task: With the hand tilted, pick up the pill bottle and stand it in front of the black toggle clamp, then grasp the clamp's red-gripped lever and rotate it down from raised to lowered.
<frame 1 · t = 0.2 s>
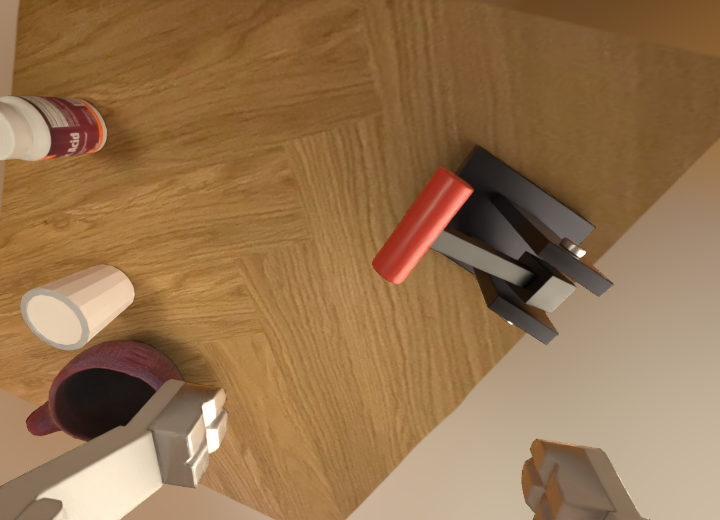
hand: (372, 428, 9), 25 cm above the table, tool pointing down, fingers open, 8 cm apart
shot glass: (112, 286, 40), on the table
bowl: (145, 373, 45), on the table
clamp lever: (490, 260, 19), point 13 cm above the table, hinge at 28.0°
clamp: (497, 227, 32), on the table
pill bottle: (86, 125, 33), on the table
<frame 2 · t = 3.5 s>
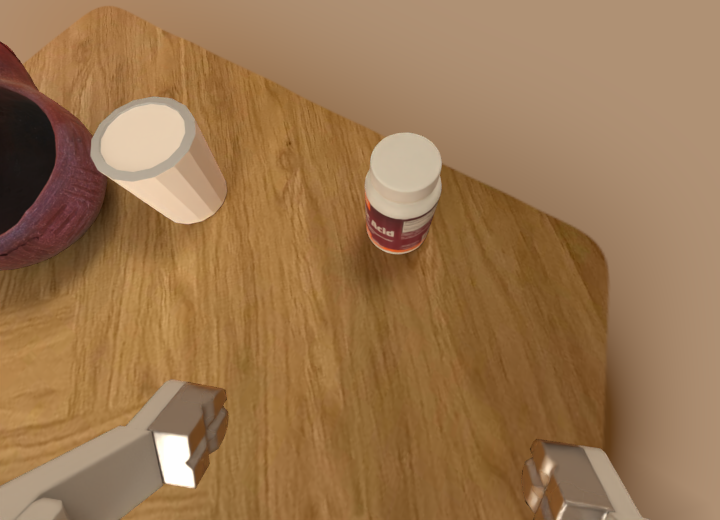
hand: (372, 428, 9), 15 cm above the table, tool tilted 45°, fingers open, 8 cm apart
shot glass: (194, 195, 30), on the table
bowl: (51, 200, 30), on the table
pill bottle: (396, 229, 28), on the table
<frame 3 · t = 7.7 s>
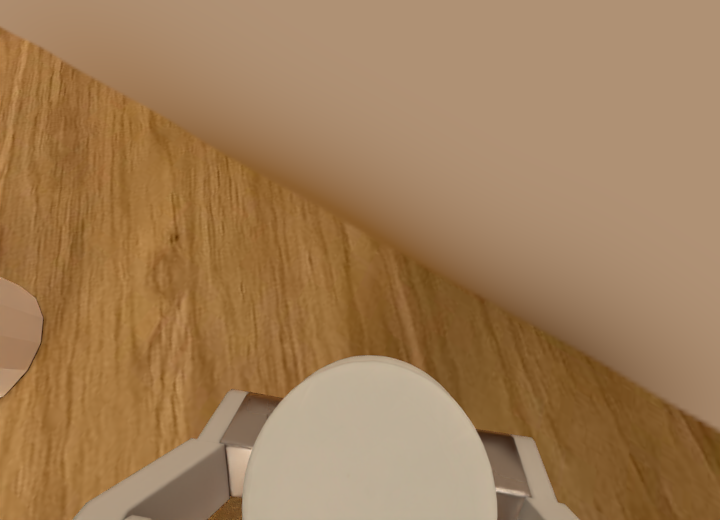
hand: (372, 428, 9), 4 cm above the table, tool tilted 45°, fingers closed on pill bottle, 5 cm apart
pill bottle: (370, 439, 13), on the table, touching gripper
when the fingers open (4 cm above the table, at t = 16.5 s): pill bottle stays where it is, on the table.
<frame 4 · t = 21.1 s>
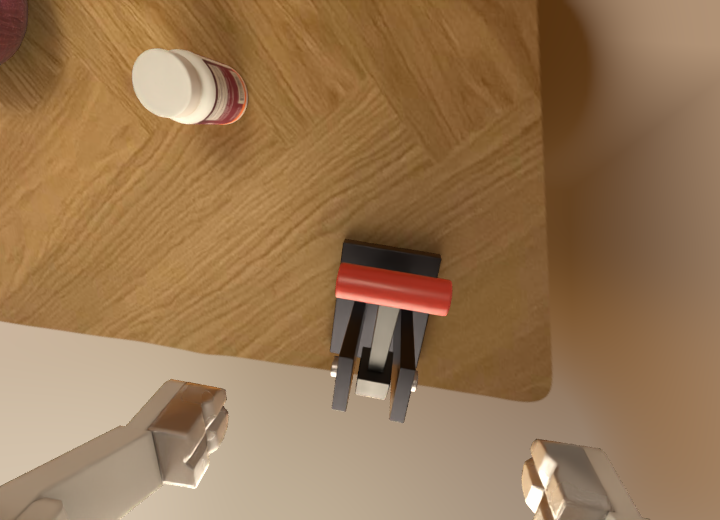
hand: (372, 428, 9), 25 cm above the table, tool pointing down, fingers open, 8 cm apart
clamp lever: (381, 340, 22), point 13 cm above the table, hinge at 28.0°
clamp: (382, 303, 36), on the table
pill bottle: (223, 95, 31), on the table
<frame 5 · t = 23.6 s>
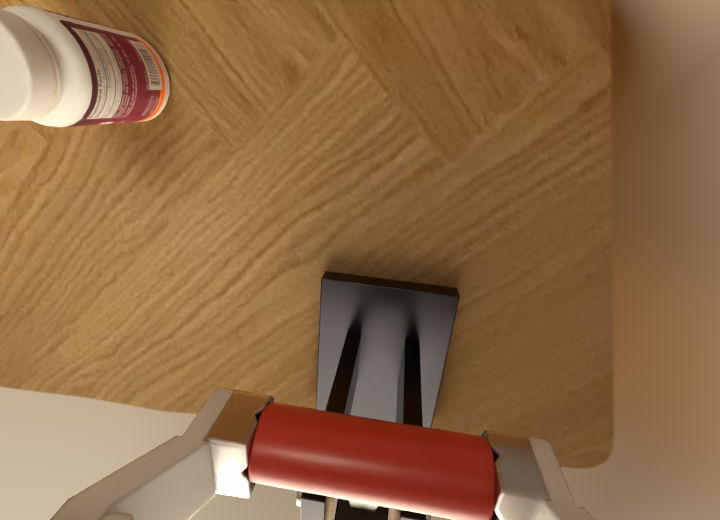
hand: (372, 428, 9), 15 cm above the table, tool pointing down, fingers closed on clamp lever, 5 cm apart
clamp lever: (365, 486, 13), point 13 cm above the table, hinge at 28.0°, touching gripper
clamp: (381, 351, 27), on the table
pill bottle: (137, 79, 21), on the table
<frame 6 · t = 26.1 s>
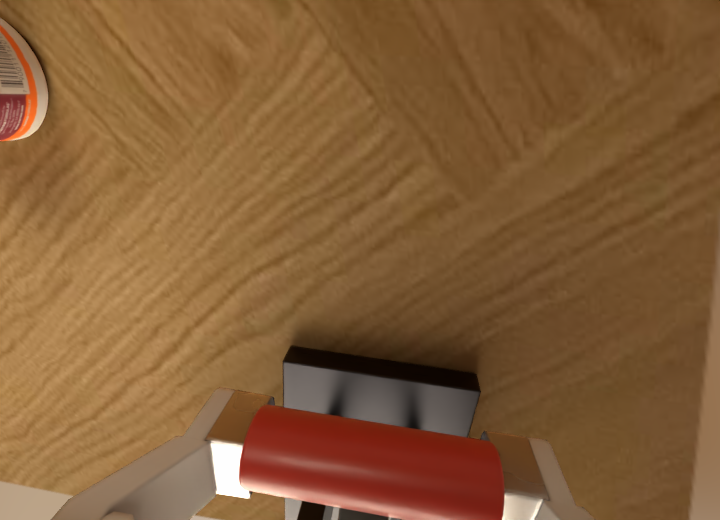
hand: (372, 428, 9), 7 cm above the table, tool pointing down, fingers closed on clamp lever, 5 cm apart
clamp: (370, 446, 20), on the table
pill bottle: (2, 78, 14), on the table
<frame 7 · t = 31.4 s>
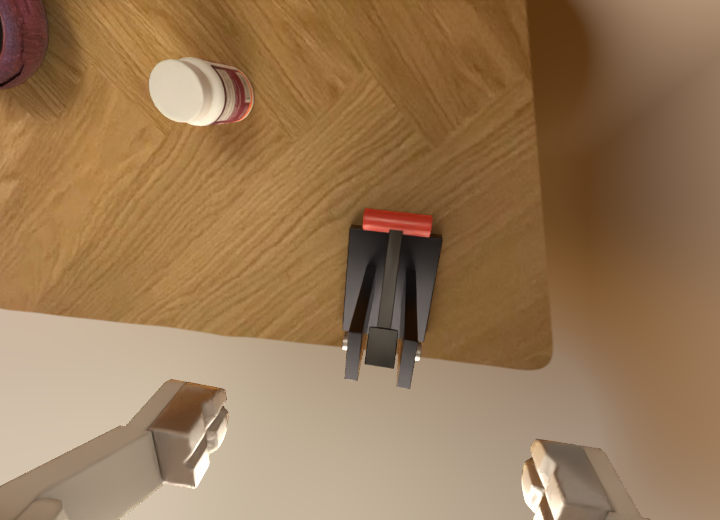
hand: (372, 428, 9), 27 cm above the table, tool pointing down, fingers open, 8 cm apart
clamp lever: (389, 286, 29), point 8 cm above the table, hinge at -32.5°
clamp: (389, 282, 38), on the table
pill bottle: (231, 95, 33), on the table
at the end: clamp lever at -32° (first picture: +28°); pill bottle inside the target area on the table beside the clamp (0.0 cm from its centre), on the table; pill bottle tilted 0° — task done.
